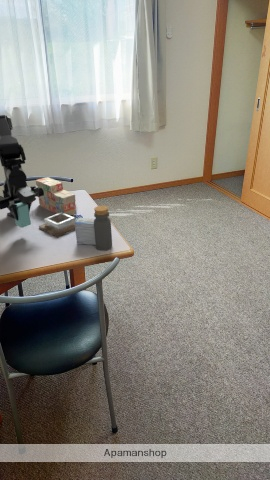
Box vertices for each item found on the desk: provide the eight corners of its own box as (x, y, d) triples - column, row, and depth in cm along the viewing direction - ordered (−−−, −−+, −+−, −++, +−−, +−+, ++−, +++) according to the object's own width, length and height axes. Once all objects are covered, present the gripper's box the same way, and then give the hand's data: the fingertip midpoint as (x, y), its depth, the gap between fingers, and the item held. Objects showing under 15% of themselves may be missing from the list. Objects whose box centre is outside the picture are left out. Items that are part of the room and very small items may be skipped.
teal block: (15, 224, 134) (12, 205, 130) (25, 221, 136) (21, 202, 133) (21, 227, 131) (18, 207, 128) (31, 224, 134) (27, 204, 130)
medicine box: (100, 240, 132) (99, 218, 127) (97, 245, 128) (95, 224, 124) (80, 238, 133) (78, 217, 129) (76, 243, 129) (74, 222, 125)
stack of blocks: (77, 214, 153) (74, 187, 147) (64, 219, 149) (61, 191, 143) (51, 201, 167) (47, 176, 161) (39, 205, 163) (35, 179, 157)
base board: (39, 228, 141) (38, 225, 141) (63, 218, 149) (62, 216, 149) (57, 237, 134) (57, 234, 134) (81, 226, 142) (81, 224, 142)
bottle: (111, 251, 124) (108, 211, 117) (94, 250, 124) (90, 211, 117) (113, 243, 129) (110, 204, 122) (97, 243, 130) (94, 204, 123)
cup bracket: (45, 225, 141) (44, 218, 140) (62, 218, 147) (61, 212, 145) (58, 231, 136) (57, 224, 135) (75, 224, 142) (74, 217, 140)
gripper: (3, 190, 115) (11, 233, 122) (50, 176, 127) (55, 216, 134) (-15, 183, 121) (-5, 224, 129) (32, 170, 133) (38, 208, 141)
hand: (22, 218), depth 133 cm, fingers closed on teal block, 4 cm apart
